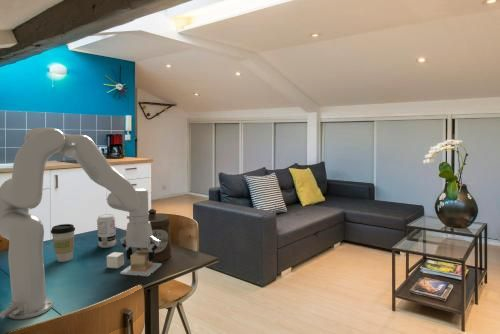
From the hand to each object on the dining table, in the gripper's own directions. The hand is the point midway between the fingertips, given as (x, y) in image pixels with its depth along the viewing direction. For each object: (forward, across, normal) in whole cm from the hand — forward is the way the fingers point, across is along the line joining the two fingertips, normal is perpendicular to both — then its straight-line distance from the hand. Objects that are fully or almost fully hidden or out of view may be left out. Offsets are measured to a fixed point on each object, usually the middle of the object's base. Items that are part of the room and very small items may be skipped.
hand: (140, 259), depth 153 cm
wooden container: (+4, -2, +15) cm, 16 cm away
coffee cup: (+5, -40, +5) cm, 40 cm away
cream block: (+4, -13, +2) cm, 14 cm away
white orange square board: (+4, 0, 0) cm, 4 cm away
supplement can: (+4, -32, +26) cm, 42 cm away
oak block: (+3, 0, 0) cm, 3 cm away
